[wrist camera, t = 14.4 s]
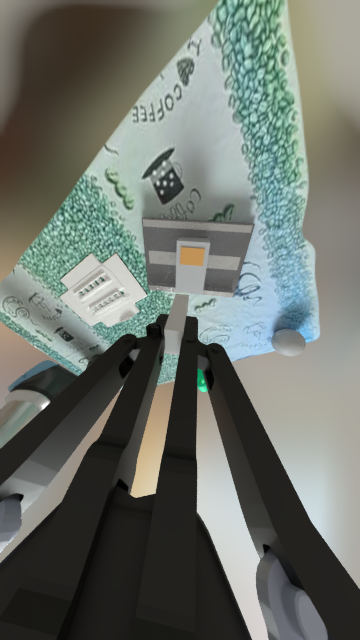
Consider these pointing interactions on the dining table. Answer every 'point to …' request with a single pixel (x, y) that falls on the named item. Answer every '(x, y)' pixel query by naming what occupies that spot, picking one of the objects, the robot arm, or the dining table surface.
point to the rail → (222, 258)
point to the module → (191, 264)
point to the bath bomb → (288, 342)
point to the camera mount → (201, 381)
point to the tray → (102, 291)
